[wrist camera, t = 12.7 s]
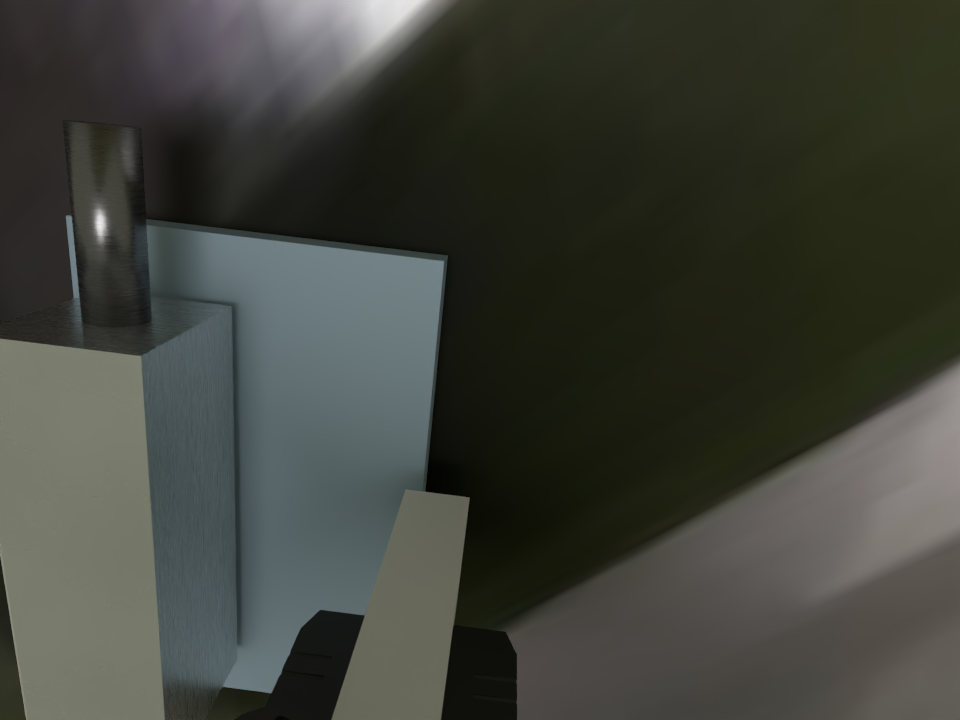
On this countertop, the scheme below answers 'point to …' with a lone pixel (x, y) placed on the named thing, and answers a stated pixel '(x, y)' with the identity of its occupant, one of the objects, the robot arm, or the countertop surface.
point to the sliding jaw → (118, 471)
